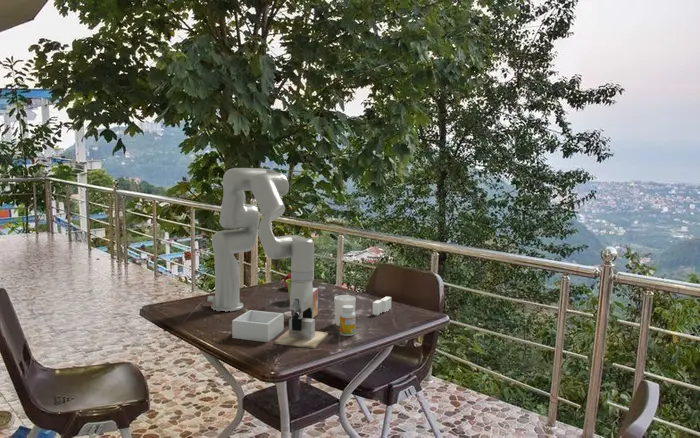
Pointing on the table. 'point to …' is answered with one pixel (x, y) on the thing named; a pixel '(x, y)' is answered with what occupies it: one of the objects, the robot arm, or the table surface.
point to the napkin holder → (381, 305)
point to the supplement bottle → (347, 320)
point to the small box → (314, 303)
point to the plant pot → (289, 286)
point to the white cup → (340, 302)
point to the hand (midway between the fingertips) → (302, 325)
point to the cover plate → (301, 341)
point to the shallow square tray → (258, 325)
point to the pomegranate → (286, 279)
